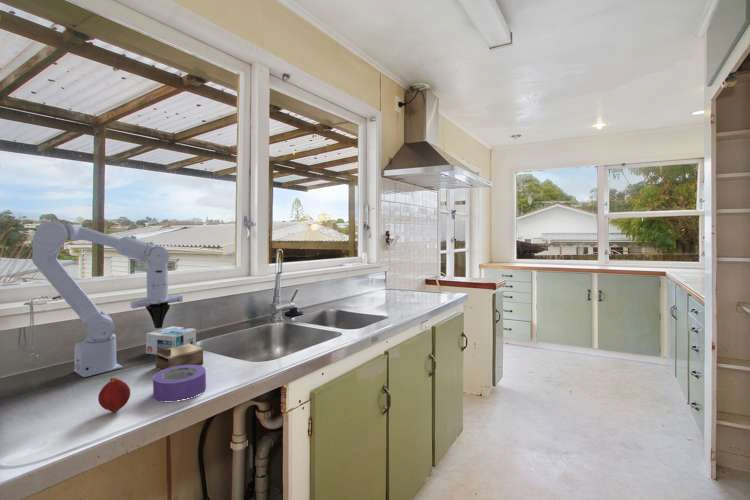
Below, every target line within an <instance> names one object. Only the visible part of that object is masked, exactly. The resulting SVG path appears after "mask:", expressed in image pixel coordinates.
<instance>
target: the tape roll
mask: <svg viewBox="0 0 750 500" xmlns="http://www.w3.org/2000/svg"><path fill="white" fill-rule="evenodd" d="M206 373H207V371H206V368H205V367H204V366H202V365H180V366H175V367H171V368H167V369H164V370H160V371H158V372H156V373H155V374H154V375H153V377H152V390H153V391H152V392H153V393H152V394H153V399H154V400H155V401H157V402H159V401H163V402H162V403H165V402H164V401H177V400H182V399H187V398H191V397H194V396H196V395H198V394H200V393H202V392H203V393H205V391H206V390H207V378H206V377H207V374H206ZM205 389H206V390H205ZM203 393H202V394H203ZM194 398H195V397H194Z"/></svg>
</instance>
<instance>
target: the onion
mask: <svg viewBox="0 0 750 500" xmlns="http://www.w3.org/2000/svg"><path fill="white" fill-rule="evenodd" d="M109 380H110V381H107V383H106V384H105V385H103V387H102V388H101V390H100V392H99V393H98V397H97V399H98V400H97V401H98V404H99V406H101V408H103V409H104V410H107V411H109V412H111V413H116V412H119V410H121V409H122V408H123V407H125V405H126V404H127V403H128V401H129V399H130V398H131V388H130V386H129V385H128V384H127V383H126V382H125V381H124V380H121V379H119V378H117V377H116V376H112V377H111V378H109Z"/></svg>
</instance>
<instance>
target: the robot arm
mask: <svg viewBox="0 0 750 500" xmlns="http://www.w3.org/2000/svg"><path fill="white" fill-rule="evenodd" d="M68 238H69V242H75V241H83V240H84V241H87V242H90V243H94V244H98V245H102V246H105V247H110V248H113V249H115V250H116V252H117V253H118V255H120V256H121V255H122V256H125V257H128V258H130V259H131V258H132V259H135V260H138V261H140V262H141V261H142V262H143V261H147V262H146V263H147V264H146V298H144V299H137V300H132V301H131V300H130V308H131V309H133V310H134V309H138V308H143V307H144V308H145V309H146V310H147V311H148V314H149V316H150V317H151V320H152V322H153V327H154V328H155V329H158V330H159V329H163V324H164V322H165V317H166V315H167V314H168V312H169V310H170V309H171V308H170V307H171V305H170V304H171V303H181V302H182V303H183V301H184V299H183V298H184V297H183V295H181V294H178V295H169V270H168V262H169V260H170V258H171V257H170V253H169V251H168V249H166V247H164V246H160V245H157V244H155V243H154V242H152V241H149V242H148V241H144V240H141V239H137V238H138V237H137V236H135V235H131V236H129V235H125V236H123V237H120V238H119V237H116V236H112V235H109V234H107V233H104V232H101V231H98V230H94V229H92V228H89V227H85V226H82V225H76V224H71V223H62V222H59V221H55V220H48V221H45V222H42V223H41V224H39V226H38V227H37V228H36V231H35V232H34V234H33V235H32V253H31V254H32V255H31V256H32V257H31V259H32V263H33V264H34V266H36V268H37V270H39V271H40V273H41V274H42V275H43V276H44V277H45V278H46V280H47V281H48V282H49V283H50V284H51V285H52V287H53V288H54V289H55V290H56V291H57V292H58V294H59V295H60V296H61V297H62V298H63V299H64V301H65V302H66V303H67V304H68V305H69V306H70V308H71V309H72V311H74V312H75V314H77V316H78V318H79V319H80V320H81V323H82V324H83V325H84V326H85V329H86V334H87V336H86V337H85V338H84V340H83V341H82V342H81V341H80V342H77V343H75V345H74V349H73V357H74V358H73V360H74V362H73V363H74V369H73V371H74V372H75V373H76V374H78V375H79V376H81V377H82V378H87V377H90V376H94V375H99V374H102V373H105V372H110V371H115V370H118V369H121V368H123V365H121V364H119V363H117V335H116V334H115V330H116V326H115V324H114V322H113V318H112V317H111V315H110V314H108V313H105V312H104V311H102V310H101V309H100V308H99V306H97V305H96V304H95V303H94V302H93V300H92V299H91V298H90V296H89V295H88V294H87V293H86V292H85V291H84V289H83V288H82V287H81V285H79V283H78V282H77V281H76V280H75V279H74V277H73V276H72V275H71V274H70V273H69V272H68V270H67V269H66V268H65V266H63V264H62V263H61V262H60V260H59V259H58V256H59V254H60V250H61V246H62V245H64V243H65V241H66V240H67V239H68Z"/></svg>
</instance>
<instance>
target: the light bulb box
mask: <svg viewBox="0 0 750 500" xmlns="http://www.w3.org/2000/svg"><path fill="white" fill-rule="evenodd" d="M186 344H192V345H194V346H197V329H196V328H191V327H183V326H173V325H172V326H169V327H165V328H160V329H158V330H154V331H151V332H147V333H146V334H145V353H146V354H148V355H154V356H156V351H157V346H163V347H166V348H173V347H177V346H182V345H186Z"/></svg>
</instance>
